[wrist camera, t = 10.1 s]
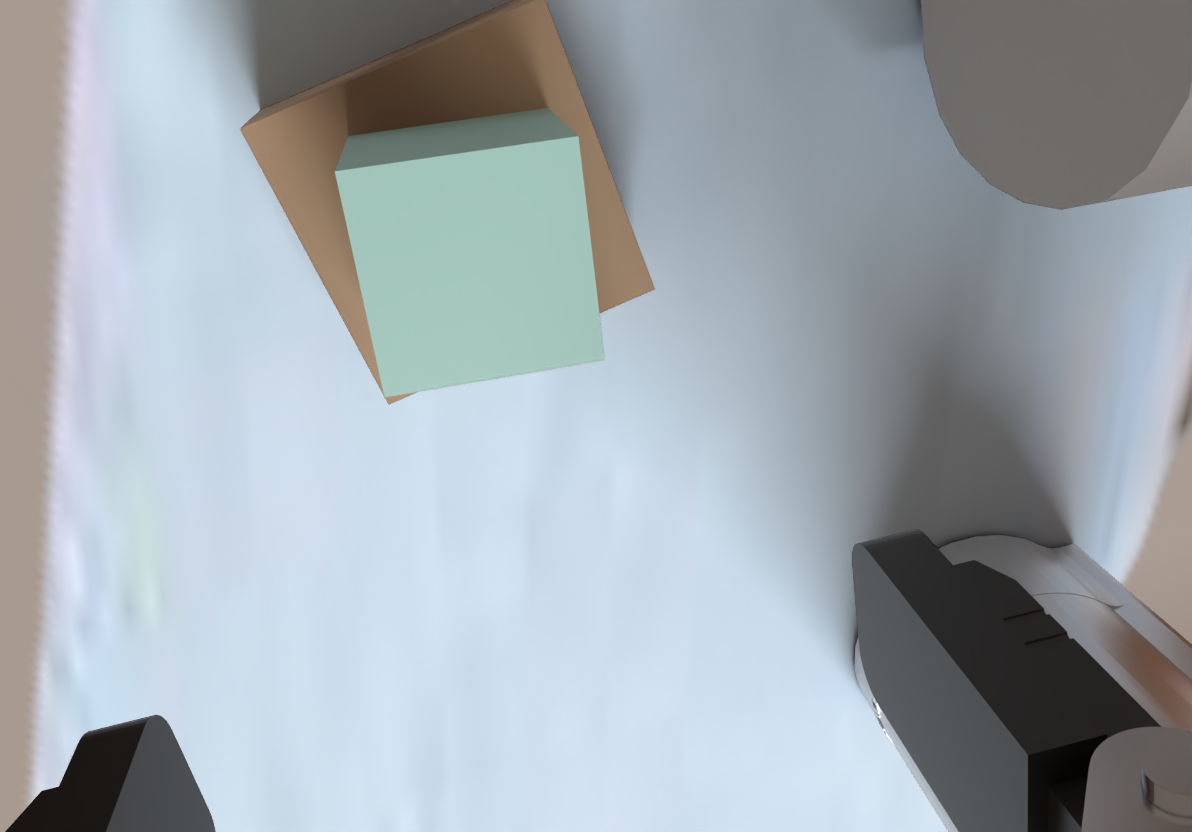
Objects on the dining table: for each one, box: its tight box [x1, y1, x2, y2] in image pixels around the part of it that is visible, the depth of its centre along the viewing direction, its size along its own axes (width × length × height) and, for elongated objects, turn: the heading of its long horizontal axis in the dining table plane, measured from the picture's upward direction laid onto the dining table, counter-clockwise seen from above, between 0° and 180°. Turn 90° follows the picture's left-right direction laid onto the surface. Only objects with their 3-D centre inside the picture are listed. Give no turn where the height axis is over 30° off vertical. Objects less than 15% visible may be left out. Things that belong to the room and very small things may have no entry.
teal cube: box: [335, 108, 605, 398], centre depth 24 cm, size 5×5×5 cm
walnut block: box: [240, 0, 655, 404], centre depth 28 cm, size 8×8×4 cm
